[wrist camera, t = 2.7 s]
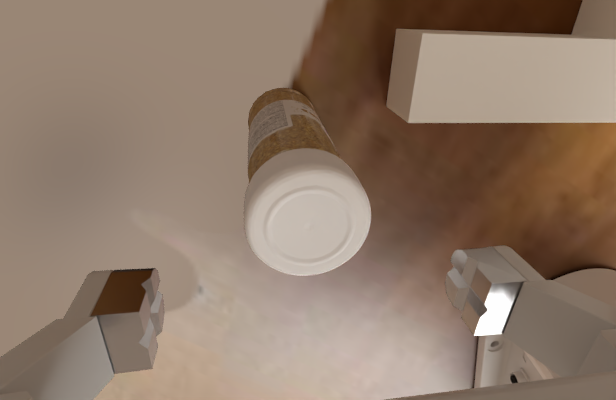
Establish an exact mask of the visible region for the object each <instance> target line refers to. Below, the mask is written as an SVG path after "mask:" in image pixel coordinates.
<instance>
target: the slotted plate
mask: <svg viewBox="0 0 616 400" xmlns="http://www.w3.org/2000/svg"><path fill="white" fill-rule="evenodd" d="M386 107H388V108H389V109H390V110H392V111H393V112H394V113H396V114H397V115H398V116H400V117H401V118H402V119H403V120H405V121H406V122H407V123H616V0H583V1H582V4H581V7H580V10H579V13H578V16H577V19H576V22H575V25H574V28H573V31H572V34H571V35H568V34H539V33H509V32H479V31H450V30H420V29H396V35H395V43H394V50H393V58H392V65H391V73H390V81H389V88H388V96H387V103H386Z"/></svg>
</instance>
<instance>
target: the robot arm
mask: <svg viewBox="0 0 616 400" xmlns="http://www.w3.org/2000/svg"><path fill="white" fill-rule="evenodd" d="M451 263H452V265H453V266H454V267H453V268H452V269H451V270H450V271H449V272H448V273H447V277H446V281H445V287H446V293H447V296H448V299H449V300H450V302H451V303H452V305H453V306H454V307H456V308H458V309H459V310H461V311H462V316H461V318H462V320H463V321H464V322H465V324H466V325H467V327H468V328H469V330H470V331H471V332H472V334H473V335H474V336H479V341H478V351H477V362H476V373H475V384H474V388H473V389H465V390H457V391H449V392H441V393H433V394H425V395H417V396H409V397H401V398H393V399H386V400H616V271H615V270H610V269H602V268H595V269H586V270H580V271H576V272H573V273H569V274H566V275H564V276H561V277H559V278H556V279H554V280H545V279H544V278H543V277H542V276H541V275H540V274H539V273H538V272H537V271H536V270H535V269H533V268H532V267H531V266H530V265H529V264H528V263H527V262H526V261H525V260H524V259H523V258H522V257H520V256H519V255H518V254H517V253H516V252H515V251H514V250H513V249H512V248H511V247H508V246H506V245H501V246H490V247H485V248H470V249H456V250H455V251H454V253H453V254H452V258H451ZM159 283H160V279H159V274H158V270H157V269H156V268H151V269H149V268H148V269H125V270H114V271H113V270H106V271H93V272H91V273H90V274H88V275H87V278H86V279H85V281H84V283H83V284H82V286H81V288H80V290H79V291H78V293H77V295H76V297H75V299H74V300H73V302H72V304H71V306H70V308H69V309H68V311H67V313H66V315H65V316H64V318H63V319H58V320H55V321H53V322H52V323H50V324H49V325H47V326H46V327H45V328H43V329H41V330H40V331H38V332H37V333H36V334H34V335H32V336H31V337H29V338H28V339H27V340H25V341H24V342H22V343H21V344H19V345H18V346H16V347H15V348H13V349H12V350H10V351H9V352H7V353H6V354H4V355H3V356H1V357H0V400H93V399H94V398H95V397H96V396H97V395H98V394H99V392H100V391H101V390H102V389H103V388H104V387H105V386H106V385H107V384H108V382H109V381H110V380H111V379H112V378H113V377H114V374H117V373H125V372H132V371H140V370H148V369H153V365H154V360H155V356H156V352H157V348H158V343H157V338H156V336H157V335H158V334H160V333H161V332H162V327H163V323H164V300H163V295H162V294H161V293H160V292H159V291H158V286H159Z"/></svg>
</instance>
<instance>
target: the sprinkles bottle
mask: <svg viewBox="0 0 616 400" xmlns="http://www.w3.org/2000/svg"><path fill="white" fill-rule="evenodd" d="M248 125H249V141H248V178H249V185H248V187H247V190H246V194H245V201H244V229H245V234H246V238H247V240H248V243H249V245H250V247H251V249H252V250H253V252H254V253H255V254H256V256H257V257H258V258H259V259H260V260H261V261H263V262H264V263H265V264H266V265H268V266H269V267H271V268H273V269H275V270H277V271H280V272H282V273H286V274H290V275H298V276H309V275H316V274H321V273H325V272H328V271H331V270H333V269H335V268H337V267H339V266H341V265H342V264H344V263H345V262H347V261H348V260H349V259H350V258H351V257H353V256H354V255H355V254H356V252H357V251H358V250H359V249H360V248H361V246H362V245H363V243H364V241H365V239H366V237H367V235H368V232H369V228H370V223H371V207H370V202H369V199H368V196H367V194H366V192H365V190H364V188H363V186H362V185H361V183H360V181H359V179H358V178H357V176H356V175H355V173H354V172H353V170H352V169H351V168H350V167H349V165H347V164H346V163H345V162H344V161H343V160H342V159H340V157H339V155H338V153H337V151H336V149H335V146H334V144H333V142H332V140H331V139H330V137H329V135H328V133H327V131H326V129H325V128H324V126H323V124H322V122H321V121H320V119H319V117H318V116H317V114H316V112H315V109H314V106H313V105H312V103H311V102H310V101H309V100H308V98H307V97H305V96H304V95H303V94H301V93H300V92H298V91H296V90H293V89H289V88H277V89H273V90H270V91H267V92H265V93H264V94H263V95H262V96H260V97H259V98H258V99H257V100H256V101H255V102H254V103H253V106H252V108H251V109H250V113H249V120H248Z"/></svg>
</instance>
